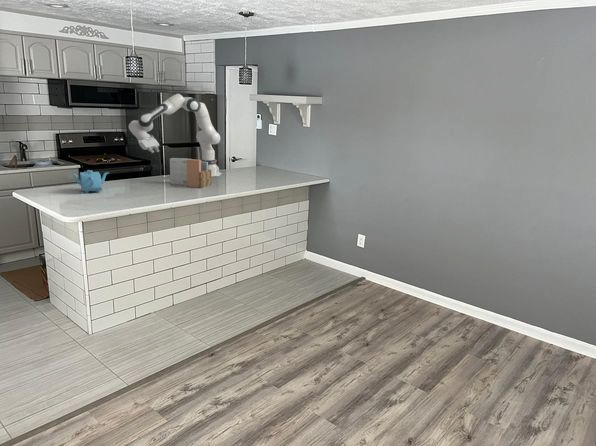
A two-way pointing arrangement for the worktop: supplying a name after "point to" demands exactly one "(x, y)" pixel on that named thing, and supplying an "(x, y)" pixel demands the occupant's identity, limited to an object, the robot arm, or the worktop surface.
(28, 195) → the worktop surface
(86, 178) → the teakettle
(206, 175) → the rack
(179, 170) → the hard drive box
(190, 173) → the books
